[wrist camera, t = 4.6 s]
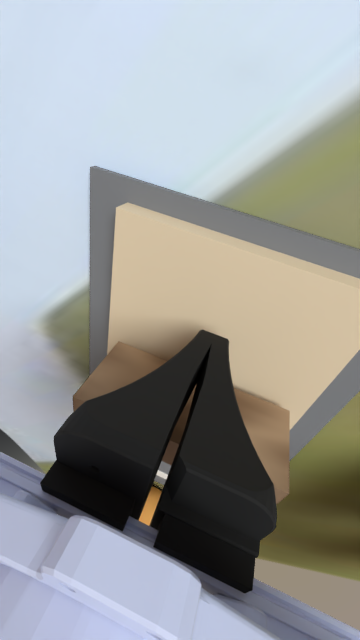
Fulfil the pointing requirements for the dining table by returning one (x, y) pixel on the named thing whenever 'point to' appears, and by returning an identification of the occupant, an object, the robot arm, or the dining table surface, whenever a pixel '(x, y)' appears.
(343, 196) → the dining table surface
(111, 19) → the dining table surface
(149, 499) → the ball
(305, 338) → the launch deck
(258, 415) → the pusher bar
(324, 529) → the dining table surface
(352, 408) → the dining table surface
